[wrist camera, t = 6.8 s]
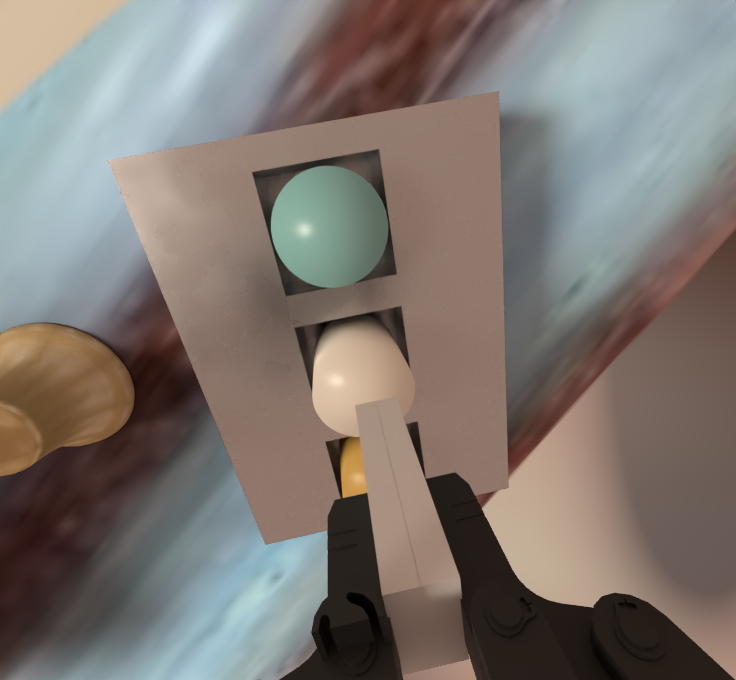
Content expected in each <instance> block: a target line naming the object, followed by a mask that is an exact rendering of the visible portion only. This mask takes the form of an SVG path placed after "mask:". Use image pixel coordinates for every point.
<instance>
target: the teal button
mask: <svg viewBox="0 0 736 680" xmlns="http://www.w3.org/2000/svg"><path fill="white" fill-rule="evenodd" d="M271 234H272V239H273V243H274V246H275V249H276V251H277V253H278V255H279V257H280V258H281V260H282V262H283V263H284V264H285V265H286V267H287V268H288V269H289V270H290V271H291V272H292V273H293V274H294V275H296V276H297V277H299V278H300V279H302V280H303V281H305V282H307V283H310V284H312V285H315V286H319V287H326V288H337V287H343V286H347V285H350V284H353V283H355V282H357V281H359V280H361V279H362V278H364V277H365V276H366V275H368V274H369V273H370V272H371V271H372V270H373V269H374V267H375V266H376V265H377V264H378V262H379V260H380V259H381V257H382V255H383V252H384V250H385V247H386V243H387V238H388V219H387V214H386V210H385V207H384V204H383V202H382V200H381V198H380V196H379V195H378V193H377V192H376V190H375V189H374V188H373V187H372V186H371V184H370V183H369V182H367V181H366V180H365V179H364V178H363V177H361V176H360V175H358V174H357V173H355V172H353V171H351V170H348V169H345V168H342V167H336V166H319V167H314V168H311V169H308V170H306V171H303V172H301V173H300V174H298V175H296V176H295V177H294V178H292V179H291V180H290V181H289V182H288V183H287V184H286V185H285V186H284V188H283V189H282V191H281V192H280V193H279V195H278V197H277V199H276V201H275V204H274V207H273V211H272V217H271Z"/></svg>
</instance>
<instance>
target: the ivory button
mask: <svg viewBox="0 0 736 680" xmlns="http://www.w3.org/2000/svg"><path fill="white" fill-rule="evenodd" d="M414 396H415V381H414V377H413V374H412V372H411V370H410V368H409V366H408V364H407V362H406V360H405V359H404V357H403V355H402V353H401V351H400V349H399V347H398V345H397V343H396V341H395V340H394V338H393V336H392V334H391V332H390V331H389V329H388V328H387V327H386V326H385V325H384V324H383V323H382V322H380V321H379V320H377V319H375V318H373V317H370V316H366V315H360V314H359V315H354V316H350V317H345V318H340V319H336V320H334V321H332V322H331V323H330V324H328V325H327V326H326V327H325V328H324V329H323V331H322V332H321V333H320V335H319V337H318V339H317V341H316V344H315V350H314V367H313V388H312V399H313V404H314V408H315V410H316V412H317V414H318V416H319V417H320V419H321V420H322V421H323V422H324V423H325V424H326V425H327V426H328V427H330V428H331V429H333V430H334V431H336V432H338V433H341V434H344V435H347V436H353V437H360V436H359V429H358V422H357V415H356V408H355V405H359V404H364V403H368V402H373V401H378V400H383V399H387V398H392V397H396V398H397V401H398V404H399V407H400V410H401V413H402V415H403V418H404V417H405V416H406V414H407V413H408V411H409V410H410V408H411V406H412V403H413V400H414Z"/></svg>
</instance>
